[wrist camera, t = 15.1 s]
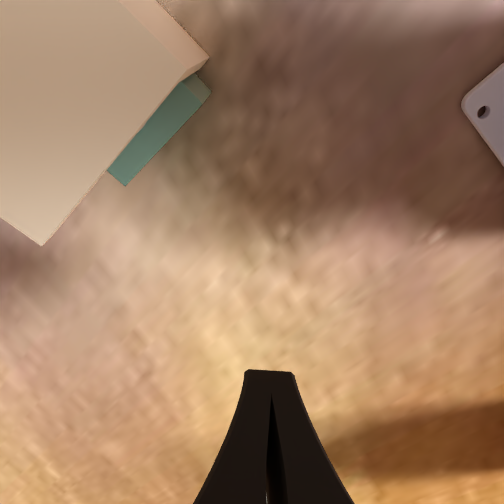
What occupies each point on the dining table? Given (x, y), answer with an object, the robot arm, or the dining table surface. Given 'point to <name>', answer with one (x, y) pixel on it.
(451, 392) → the dining table surface
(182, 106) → the teal block
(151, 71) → the beige flanged peg
